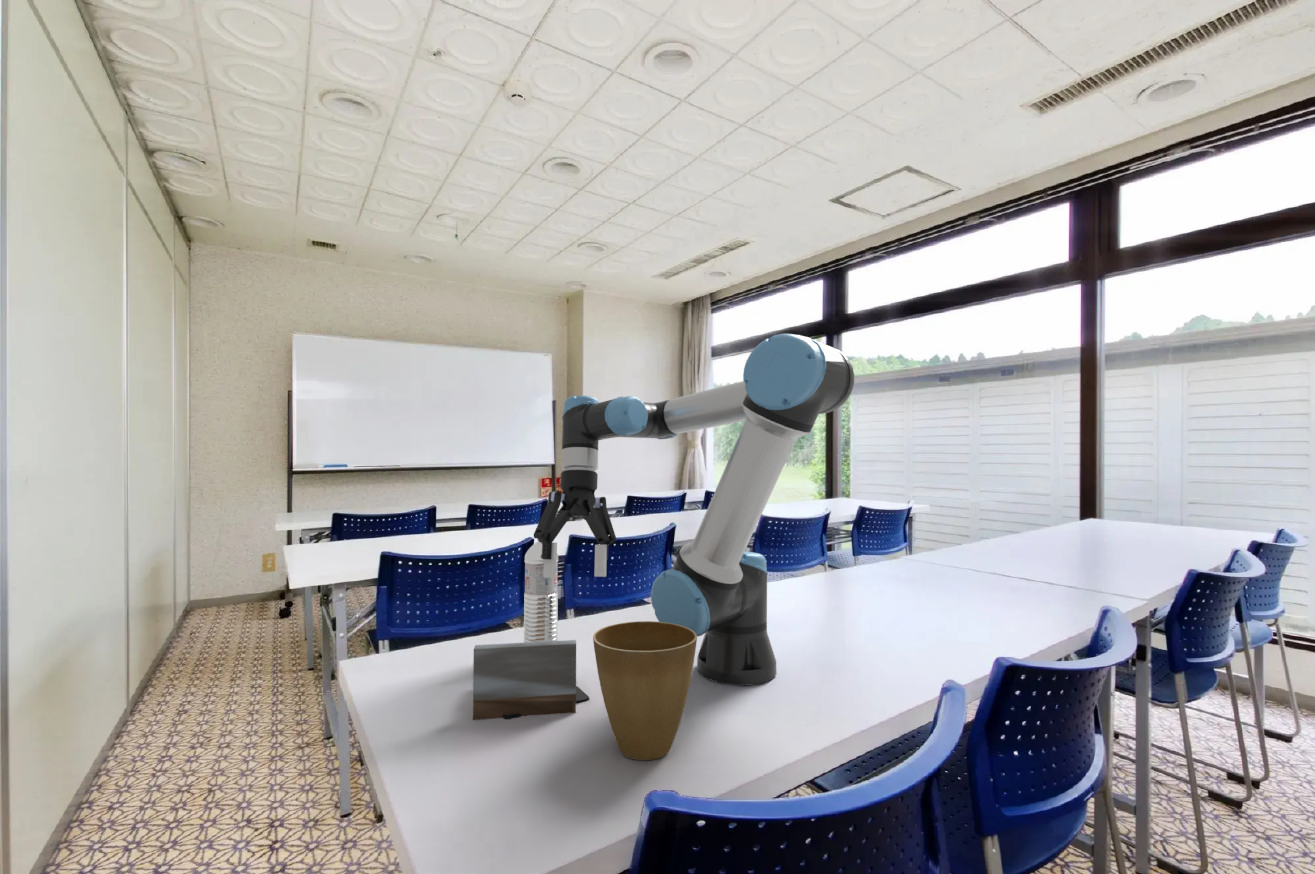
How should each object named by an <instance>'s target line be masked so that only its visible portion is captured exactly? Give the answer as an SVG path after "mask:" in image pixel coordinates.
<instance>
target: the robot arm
mask: <svg viewBox="0 0 1315 874" xmlns="http://www.w3.org/2000/svg"><path fill="white" fill-rule="evenodd" d="M742 378H743V379H742V380H743V381H742V380H741V381H739V382H734V383H731V384H727V385H723V386H719V387H715V388H709V389H706V390H702V391H698V392H694V393H691V394H687V395H681V396H678V397H675V398H671V399H667V400H663V401H659V402H644V401H642V400H640V399H639V397H637V396H634V395H629V396H618V397H616V398H613V399H609V400H605V401H601V402H600V401H599V400H598V399H597V398H596V397H594V396H590V395H573V396H569V397H568V398H566V399H565V401H564V404H563V412H562V417H561V419H562V429H561V430H562V431H561V432H562V435H561V436H562V437H561V464H560V468H561V469H562V470H563V471H561V472H560V483H559V484H560V491H559V490H558V491H557V490H556V491H550V492H549V494H548V499H547V504H546V506H545V508H544V510H543V512H542V515H541V517H540V519H539V522H538V523H537V526H536V528H535V531H534V533H533V539H538V540H537V542H538V541H539V542H542V559H544V573H543V578H556V559H557V554H558V551H557V550H558V542H555V541H554V540H556V537H558V535H559V534H560V532H561V530H562V529H563V528H564V527H565V525H566V524H567V522H568V521H569V519H570V518H572V517H577V518H581V519H583V520H584V521H585V522H586V523H587V525H588V528H589V529H590V530H591V533H592V534H593V536H594V538H595V539H596V542H597V544H594V573H593V574H594V578H597V577H599V578H601V577H603V578H606V577H607V560H608V559H609V545H612V544H613V543H614V542H616V541H617V536H616V533H615V530H614V527H613V524H612V520H611V517H610V515H609V512H608V508H607V498H606V497H605V496H598V497H596V495H595V491H596V490H598V477H599V476H598V473H597V472H596V471H597V470H598V469H599V441H601V440H602V441H603V440H606V439H607V440H608V439H614V438H615V439H616V438H633V439H634V438H635V439H637V438H639V439H641V438H642V439H657V440H668V439H672V438H675V437H677V436H678V435H679V434H684V433H689V432H695V431H699V430H704V429H705V430H706V429H710V428H715V427H720V426H725V425H731V424H736V423H741V422H744V423H743V426H742V428H741V430H740V433H739V435H738V438H737V439H736V442H735V444H734V447H733V449H732V451H731V454H730V456H729V458H728V460H727V463H726V465H725V468H724V470H723V472H722V473H721V474H722V475H721V476H720V479H719V481H718V484H717V486H716V488H715V491H714V493H713V495H712V498H711V500H710V502H709V504H708V507H707V508H706V512H705V513H704V516H703V518H702V520H701V523H700V525H699V527H698V530H697V532H696V533H695V537H694V539H693V540H692V542H689V543H686V544H683V545H682V546H681V548H680V549H679V552H678V554H677V556H676V558H675V561H674V563H673V565H672V567H671V568H669V569H665V570H664V571H662V572H661V573H659V575H657V576H656V578H655V580H654V581H653V583H652V586H651V592H650V600H651V607H652V608H653V610H654V615H655V618H656V619H657V622H666V623H673V624H677V625H681V626H685V627H687V628H690V629H691V630H693V631H694V632H695V633H696V634H697V637H701V636H703V639H702V640H701V641H702V642H701V645H700V649H699V651H698V654H697V659H696V660H697V661H696V665H697V667H696V669H697V671H698V674H699V675H700V676H702V677H704V678H705V679H707V680H710V681H712V682H716V683H720V684H724V685H731V686H733V685H734V686H753V685H759V684H764V683H767V682H770V681H771V680H773V679H774V678H775V677H776V675H777V659H776V656H775V653H774V650H773V646H772V644H771V640H770V637H769V635H768V625H767V624H768V570H767V559H766V557H765V556H764V555H763V554H761V553H759V552H753V551H746V549H747V547H748V544H749V542H750V540H751V539H752V538H751V537H752V536H753V534H754V532H755V529H756V527H757V525H758V523H759V520H760V519H761V516H762V514H763V512H764V510H765V508H766V506H767V503H768V501H769V499H770V497H771V495H772V493H773V491H774V488H775V486H776V483H777V481H778V480H779V478H780V475H781V473H782V471H783V469H784V466H785V464H786V462H787V460H788V458H789V455H790V454H791V451H792V449H793V447H794V445H795V443H796V440H797V439H799V438H802V437H804V436H806V435H809V434H810V433H811V431H812V430H813V427H814V425H815V422H816V421H817V418H818V417H819V415H823V414H827V413H831V412H833V411H836V410H837V409H839V408H840V407H841V406H843V405H844V404H845V403H846V401H848V399H849V398H850V396H851V394H852V392H853V389H854V385H855V372H854V368H853V365H852V363H851V361H850V359H849V358H848V357H847V356H846V355H845V354H844V353H843V352H842V351H841V350H839V349H837V348H835V347H833V346H831V345H828V344H824V343H822V342H819V341H817V340H814V339H812V338H810V337H808V336H804V335H802V334H794V333H793V334H792V333H779V334H774V335H773V336H770V337H769V338H765V339H764V340H763V341H761V342H760V343H758V345H756V346H755V347H754V349H753V350H751V352H750V353H749V355H748V357H747V359H746V362H745V364H744V368H743V374H742ZM561 490H562V491H561ZM561 504H562V506H561ZM560 506H561V507H560Z"/></svg>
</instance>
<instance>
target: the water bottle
mask: <svg viewBox="0 0 1315 874" xmlns="http://www.w3.org/2000/svg"><path fill="white" fill-rule="evenodd" d="M536 539H537V538H536ZM558 562H559V554H558V553H557V559H556V578H543V573H544V559H542V542H539V541H538V539H537V541H536V542H534V543H533V544H532V545H531V546H530V547H529V548H528V549H527V551H526V552H525V555H524V563H525V564H524V571H525V572H524V593H523V595H524V596H523V597H524V599H523V600H524V603H523V606H524V607H523V610H524V611H523V615H524V616H523V624H524V625H523V643H527V642H546V641H558V631H559V630H558V625H559V624H558V623H559V622H558V617H559V616H558V613H559V612H558V609H559V607H558V605H559V602H558V599H559V597H558V596H559V592H558Z"/></svg>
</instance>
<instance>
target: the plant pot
mask: <svg viewBox="0 0 1315 874" xmlns="http://www.w3.org/2000/svg"><path fill="white" fill-rule="evenodd" d="M592 640H593V641H592V642H593V648H594V649H593V650H594V656H595V661H596V663H595V664H596V668H597V675H598V681H599V686H600V690H601V694H602V698H603V703H604V707H605V711H606V713H607V718H608V720H609V721H608V722H609V724H610V727H611V730H612V732H613V736H614V739H615V742H616V744H617V747H618V750H619V751H620V753H621V754H622V755H623V756H625V757H627V758H629V759H632V760H637V761H652V760H657V759H661V758H663V757H664V756H666V755H667V754H668V753H670V751H671V749H672V746H673V744H674V741H675V738H676V736H677V732H678V729H679V727H680V723H681V721H682V720H681V719H682V717H683V712H684V709H685V706H686V702H687V698H688V695H689V694H688V693H689V690H690V689H689V688H690V684H691V680H692V673H693V669H694V668H693V667H694V662H695V655H696V649H697V641H698V636H697V634H696V633H695V632H694V631H693V630H691V629H690V628H687V627H685V626H681V625H677V624H673V623H666V622H659V621H653V620H649V621H647V620H645V621H644V620H642V621H638V620H637V621H627V622H619V623H616V624H615V623H614V624H611V625H607V626H604V627H601V628H600V629H598V630H596V631H595V633H594V634H593V636H592Z"/></svg>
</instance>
